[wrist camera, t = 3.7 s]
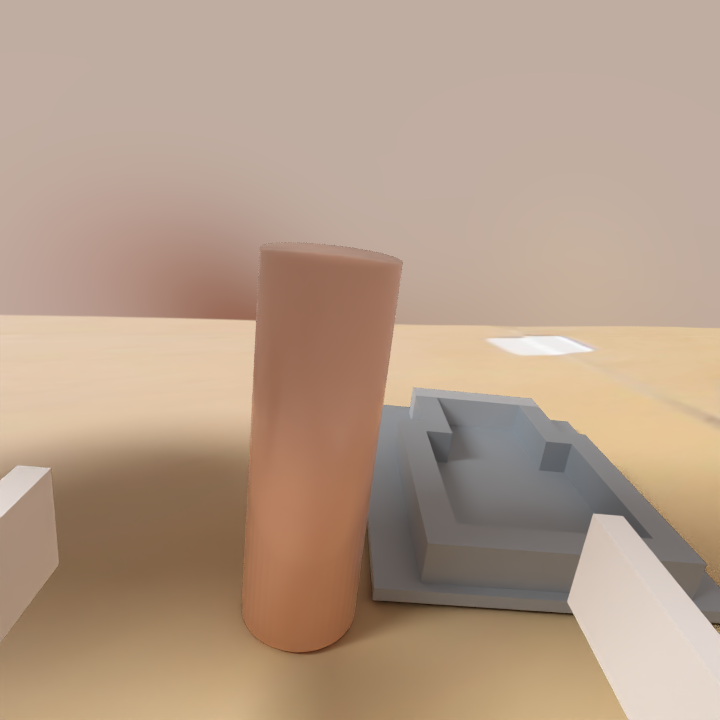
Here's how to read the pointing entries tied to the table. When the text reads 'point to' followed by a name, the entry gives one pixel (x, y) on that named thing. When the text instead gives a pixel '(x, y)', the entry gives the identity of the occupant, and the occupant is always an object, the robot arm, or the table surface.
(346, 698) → the table surface
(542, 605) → the keyhole board
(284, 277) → the tall peach cylinder
